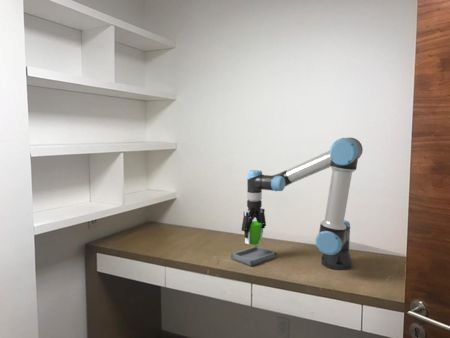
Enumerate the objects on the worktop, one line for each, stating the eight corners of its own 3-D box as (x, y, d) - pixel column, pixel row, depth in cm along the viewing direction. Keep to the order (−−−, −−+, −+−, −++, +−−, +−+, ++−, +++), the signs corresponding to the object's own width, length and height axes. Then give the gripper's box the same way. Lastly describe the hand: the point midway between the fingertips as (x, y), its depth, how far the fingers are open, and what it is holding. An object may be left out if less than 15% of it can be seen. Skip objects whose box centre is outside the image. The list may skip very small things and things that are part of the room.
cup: (261, 246, 185) (261, 225, 183) (243, 245, 186) (244, 224, 185) (263, 241, 193) (263, 221, 192) (246, 240, 195) (246, 220, 194)
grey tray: (276, 257, 192) (276, 252, 191) (251, 266, 179) (251, 261, 179) (256, 250, 202) (256, 245, 202) (231, 259, 190) (231, 253, 189)
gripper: (262, 196, 197) (262, 236, 200) (234, 201, 183) (234, 244, 185) (273, 198, 192) (272, 239, 194) (244, 203, 177) (244, 248, 180)
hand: (253, 241), depth 190 cm, fingers closed on cup, 9 cm apart
